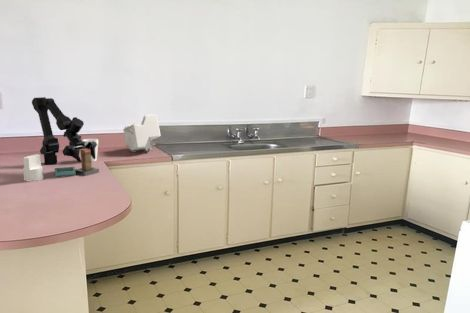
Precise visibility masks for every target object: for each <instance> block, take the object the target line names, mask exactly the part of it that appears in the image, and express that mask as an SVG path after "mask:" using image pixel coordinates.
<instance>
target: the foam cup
mask: <svg viewBox="0 0 470 313" xmlns="http://www.w3.org/2000/svg"><path fill="white" fill-rule="evenodd" d="M81 140H82V142H85V144H84V145H87V144H88V142H92V141H95V142H96V143H97V146H96V147H95V159H94V158H93V157H92V156H91V163H93V162H96V161H97V160H98V148H99V139H98V138H84V139H81Z"/></svg>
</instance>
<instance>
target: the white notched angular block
mask: <svg viewBox="0 0 470 313" xmlns="http://www.w3.org/2000/svg"><path fill="white" fill-rule="evenodd" d="M157 114H158V113H152V114H144V116H143V117H142V121H141V124H137V123H129V124H128V125H126V126H125V127H124V128H123V129H122V130H123V135H124V141H125V142H124V143H125V146H126V148H128V149H129V151H131V152H132V153H136V152H137V151H145V152H146V153H148V152H150V150H152V148H153V147H154V146H155V145H156V143H155V142H154V141H153V140H155V139H158V138H159V137H161V136H162V134H161V130H160V124H159V118H158V115H157Z"/></svg>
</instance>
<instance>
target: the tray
mask: <svg viewBox="0 0 470 313" xmlns="http://www.w3.org/2000/svg"><path fill="white" fill-rule="evenodd" d="M75 169H76V168H75V166H67V167H55V168H54V177H55V178H61V176H65V177H75V176H74V175H76V171H75Z"/></svg>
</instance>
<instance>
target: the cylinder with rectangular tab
mask: <svg viewBox="0 0 470 313" xmlns="http://www.w3.org/2000/svg"><path fill="white" fill-rule="evenodd" d="M41 161H42V160H41V153H40V154H37V153H34V154H32V155H28V156H24V157H23V167H22V173H23V180H24V179H25V180H38V181H41V180H40V179H42V180H43V179H44V168H43V166H42V163H41ZM25 180H24V181H25Z"/></svg>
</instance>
